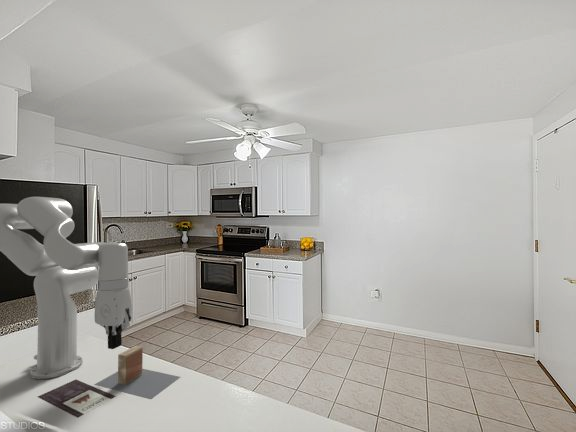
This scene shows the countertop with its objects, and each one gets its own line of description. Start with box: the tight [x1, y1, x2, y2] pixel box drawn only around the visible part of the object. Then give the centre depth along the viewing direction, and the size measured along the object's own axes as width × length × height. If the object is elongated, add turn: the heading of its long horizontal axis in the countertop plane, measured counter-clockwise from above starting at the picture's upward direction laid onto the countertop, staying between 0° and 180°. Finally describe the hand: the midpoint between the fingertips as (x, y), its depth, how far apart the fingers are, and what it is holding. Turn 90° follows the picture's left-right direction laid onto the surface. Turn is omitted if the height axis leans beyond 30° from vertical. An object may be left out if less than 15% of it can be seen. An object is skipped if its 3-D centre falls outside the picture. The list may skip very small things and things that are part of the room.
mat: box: [94, 368, 181, 400], centre depth 82 cm, size 20×11×1 cm, turn 71°
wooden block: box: [117, 345, 144, 385], centre depth 83 cm, size 3×6×8 cm, turn 161°
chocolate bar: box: [37, 379, 117, 418], centre depth 74 cm, size 9×1×18 cm
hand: (114, 346), depth 85 cm, fingers closed
